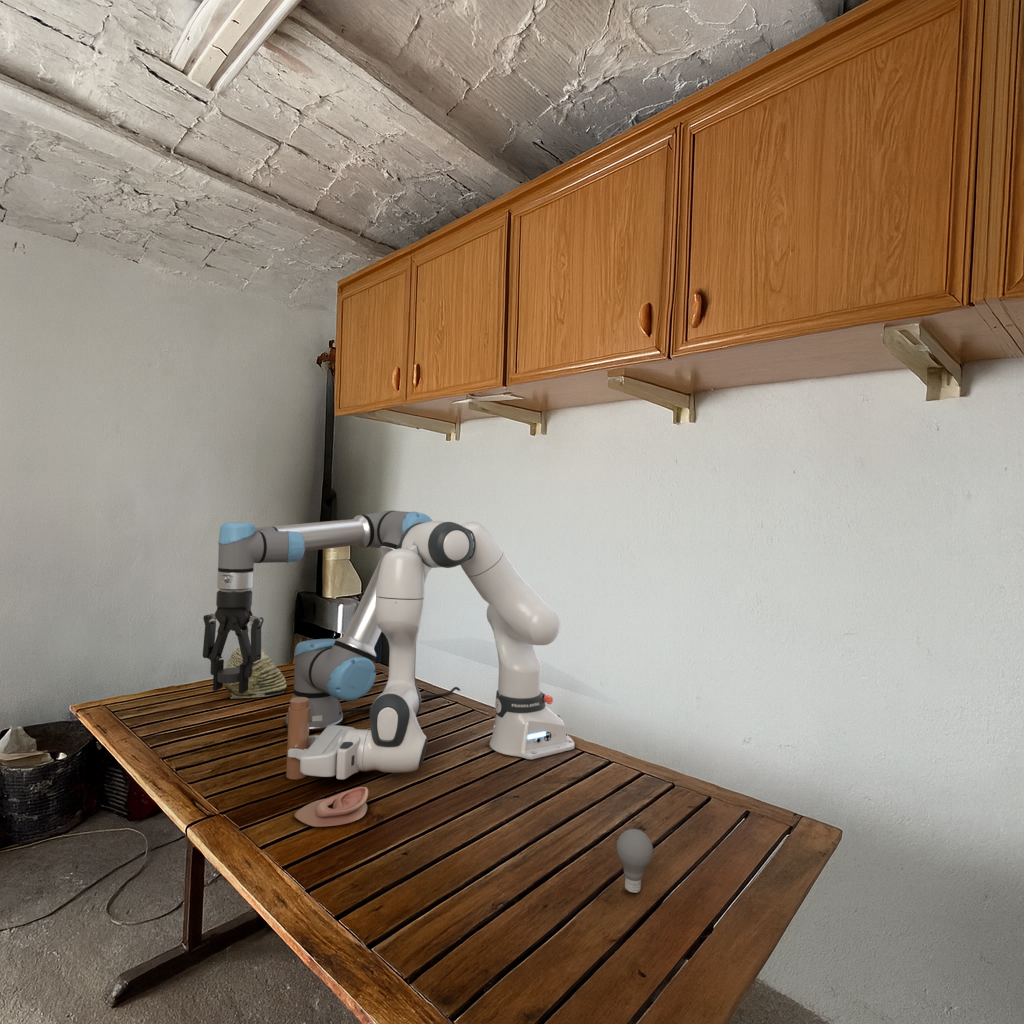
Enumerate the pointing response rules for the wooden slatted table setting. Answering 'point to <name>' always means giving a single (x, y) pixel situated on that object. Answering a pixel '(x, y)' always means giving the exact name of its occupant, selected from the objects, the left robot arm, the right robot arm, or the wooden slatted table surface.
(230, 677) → the lid
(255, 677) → the fossil
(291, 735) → the jar
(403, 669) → the right robot arm
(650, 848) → the light bulb
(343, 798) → the anatomical model
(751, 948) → the wooden slatted table surface
